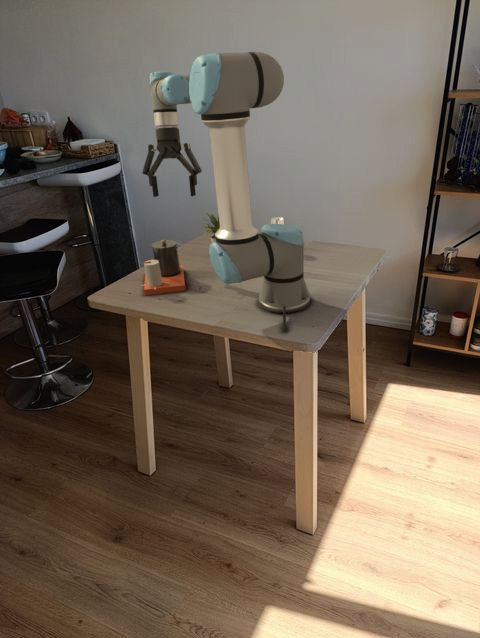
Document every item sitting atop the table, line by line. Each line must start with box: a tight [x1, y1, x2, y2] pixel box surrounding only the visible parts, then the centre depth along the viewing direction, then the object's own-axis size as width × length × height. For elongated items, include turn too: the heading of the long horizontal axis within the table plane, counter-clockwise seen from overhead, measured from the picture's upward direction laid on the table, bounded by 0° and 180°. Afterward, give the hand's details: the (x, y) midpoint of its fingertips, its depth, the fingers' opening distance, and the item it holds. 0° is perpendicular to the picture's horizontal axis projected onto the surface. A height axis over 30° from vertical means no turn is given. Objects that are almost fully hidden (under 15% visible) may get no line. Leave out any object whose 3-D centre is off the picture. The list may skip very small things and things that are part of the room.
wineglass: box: [269, 216, 286, 224], centre depth 182 cm, size 6×6×12 cm
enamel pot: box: [150, 239, 181, 276], centre depth 162 cm, size 8×8×11 cm
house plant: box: [201, 211, 220, 244], centre depth 183 cm, size 14×14×16 cm
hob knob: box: [143, 259, 163, 287], centre depth 154 cm, size 5×5×8 cm
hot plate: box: [141, 264, 187, 296], centre depth 162 cm, size 19×14×2 cm
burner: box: [161, 268, 182, 277], centre depth 165 cm, size 9×9×1 cm
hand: (174, 196), depth 163 cm, fingers open, 13 cm apart
